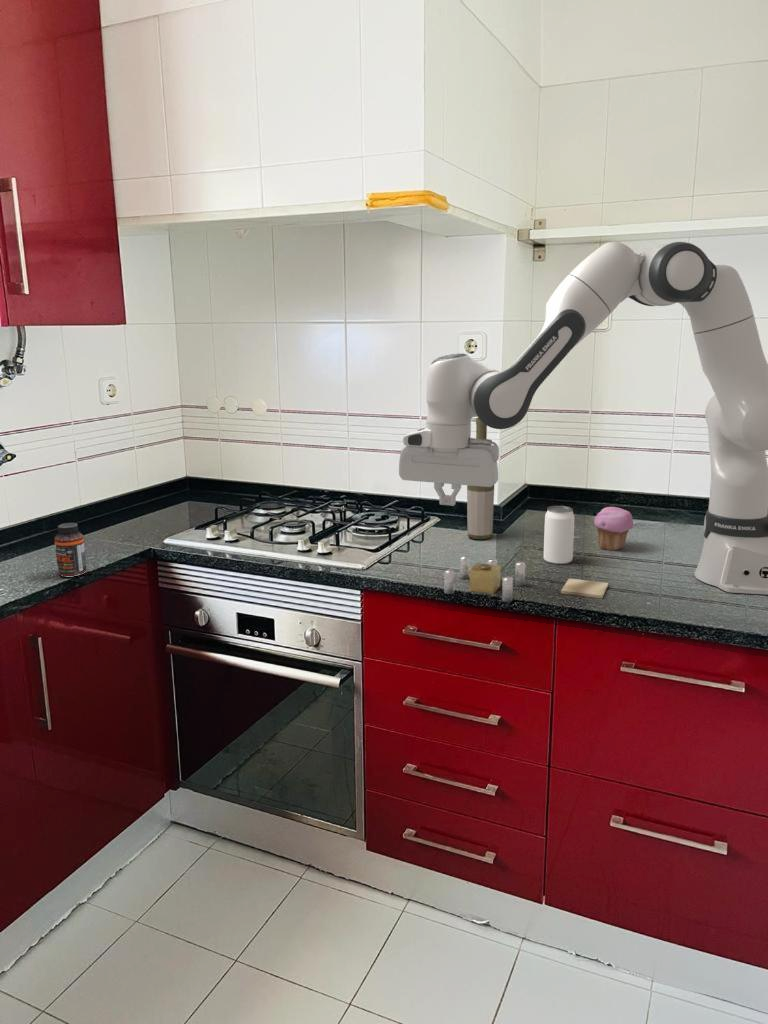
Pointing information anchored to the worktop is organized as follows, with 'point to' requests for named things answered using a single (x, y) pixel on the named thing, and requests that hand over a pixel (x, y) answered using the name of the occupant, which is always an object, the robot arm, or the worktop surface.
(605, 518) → the cupcake
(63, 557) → the supplement bottle
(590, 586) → the coaster
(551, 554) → the can
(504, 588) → the spacer posts
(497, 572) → the cube with brass knob
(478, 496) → the bottle
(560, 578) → the worktop surface
